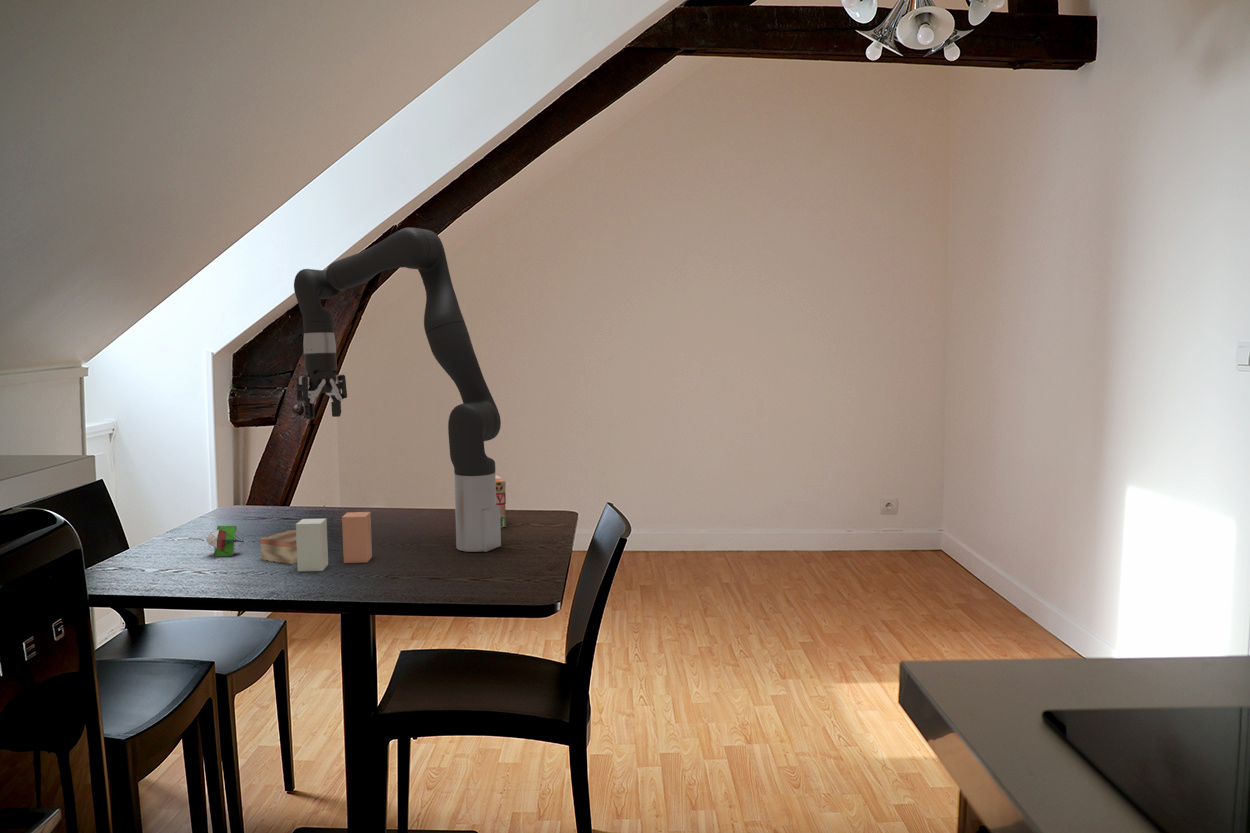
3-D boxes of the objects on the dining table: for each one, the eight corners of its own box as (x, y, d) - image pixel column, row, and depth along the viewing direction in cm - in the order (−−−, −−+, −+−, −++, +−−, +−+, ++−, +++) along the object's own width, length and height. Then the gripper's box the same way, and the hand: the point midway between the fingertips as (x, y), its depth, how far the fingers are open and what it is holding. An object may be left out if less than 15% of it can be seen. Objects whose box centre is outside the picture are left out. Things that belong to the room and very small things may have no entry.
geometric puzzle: (221, 539, 209) (209, 516, 204) (251, 539, 209) (240, 516, 204) (210, 564, 204) (198, 541, 199) (240, 564, 204) (229, 541, 198)
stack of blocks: (463, 514, 246) (462, 469, 245) (486, 512, 249) (485, 468, 248) (482, 530, 227) (480, 481, 226) (506, 528, 229) (505, 479, 228)
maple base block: (323, 555, 204) (322, 533, 203) (292, 565, 196) (291, 542, 195) (293, 551, 208) (292, 529, 207) (261, 560, 200) (259, 538, 199)
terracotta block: (372, 556, 202) (370, 511, 201) (367, 562, 197) (365, 516, 196) (348, 557, 201) (347, 512, 200) (343, 562, 196) (341, 517, 195)
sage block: (328, 564, 195) (326, 518, 194) (322, 570, 190) (320, 523, 189) (304, 565, 195) (302, 519, 194) (297, 571, 190) (295, 524, 189)
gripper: (309, 351, 216) (313, 420, 217) (352, 351, 228) (356, 415, 229) (286, 352, 219) (290, 420, 220) (329, 352, 232) (333, 415, 233)
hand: (323, 417), depth 225 cm, fingers open, 8 cm apart
